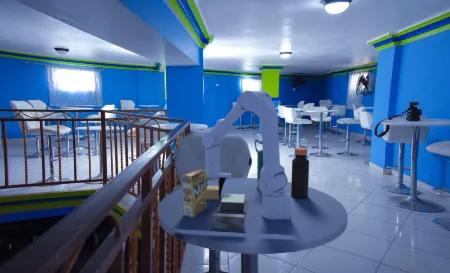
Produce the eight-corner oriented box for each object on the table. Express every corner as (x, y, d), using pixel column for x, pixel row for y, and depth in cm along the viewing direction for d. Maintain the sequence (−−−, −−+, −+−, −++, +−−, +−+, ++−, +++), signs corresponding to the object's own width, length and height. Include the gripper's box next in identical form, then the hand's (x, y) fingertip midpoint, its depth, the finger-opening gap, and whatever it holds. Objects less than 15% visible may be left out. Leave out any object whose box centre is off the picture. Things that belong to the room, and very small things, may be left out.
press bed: (248, 203, 111) (249, 191, 110) (245, 233, 87) (245, 217, 87) (220, 202, 112) (220, 190, 112) (210, 231, 89) (209, 215, 88)
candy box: (193, 220, 96) (192, 176, 94) (182, 217, 99) (181, 174, 96) (207, 211, 104) (206, 170, 102) (197, 209, 106) (197, 168, 104)
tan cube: (220, 197, 118) (219, 185, 117) (218, 202, 113) (218, 189, 112) (208, 197, 118) (207, 185, 118) (205, 201, 113) (205, 189, 113)
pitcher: (275, 185, 134) (276, 138, 130) (276, 191, 125) (277, 141, 122) (254, 185, 134) (254, 138, 131) (254, 190, 126) (254, 141, 123)
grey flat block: (244, 201, 110) (244, 194, 110) (243, 211, 101) (243, 203, 101) (224, 201, 111) (224, 193, 111) (221, 210, 102) (220, 202, 102)
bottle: (309, 199, 116) (311, 150, 113) (292, 199, 116) (294, 150, 113) (305, 193, 123) (307, 147, 120) (289, 193, 123) (290, 147, 120)
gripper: (231, 160, 117) (231, 193, 118) (196, 160, 118) (197, 191, 120) (230, 165, 110) (230, 199, 112) (192, 164, 111) (193, 197, 113)
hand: (213, 195), depth 115 cm, fingers closed on tan cube, 5 cm apart
